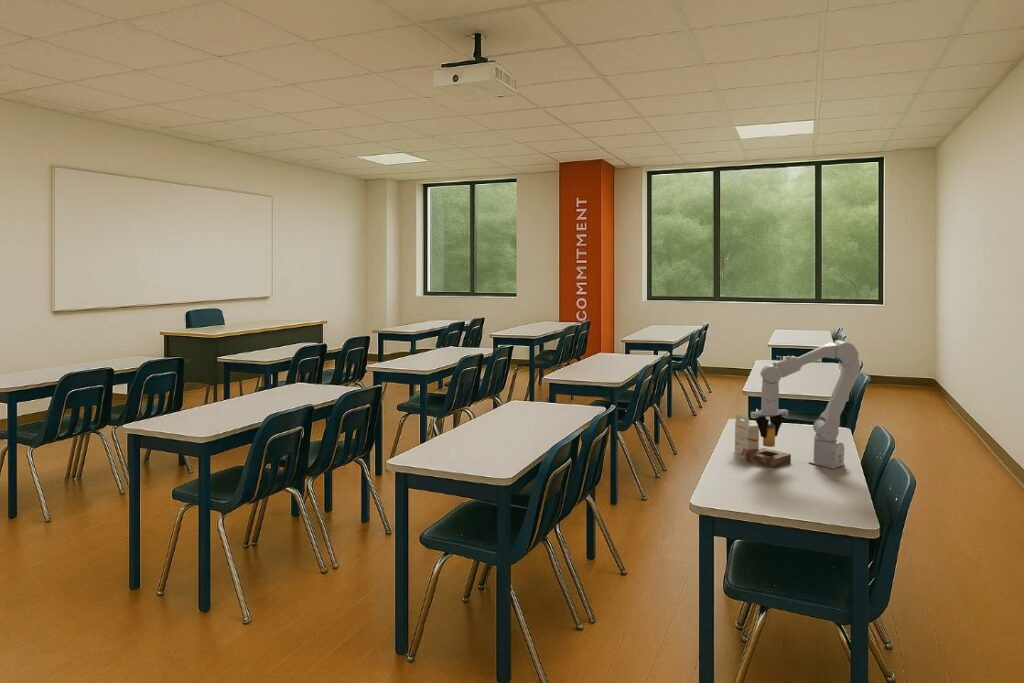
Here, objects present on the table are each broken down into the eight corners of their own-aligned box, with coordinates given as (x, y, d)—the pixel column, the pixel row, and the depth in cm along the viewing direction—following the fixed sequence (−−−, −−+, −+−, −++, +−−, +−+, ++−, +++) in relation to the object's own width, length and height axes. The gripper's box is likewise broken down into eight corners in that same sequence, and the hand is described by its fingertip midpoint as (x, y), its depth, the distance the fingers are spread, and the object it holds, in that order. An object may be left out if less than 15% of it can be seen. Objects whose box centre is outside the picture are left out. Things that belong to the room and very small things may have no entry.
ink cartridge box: (759, 456, 263) (760, 417, 262) (747, 457, 262) (748, 418, 260) (745, 450, 271) (746, 412, 270) (733, 451, 270) (734, 413, 268)
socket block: (790, 462, 255) (790, 454, 255) (773, 468, 248) (773, 459, 248) (763, 455, 264) (763, 447, 263) (745, 461, 257) (745, 453, 257)
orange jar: (777, 445, 255) (777, 423, 254) (770, 447, 252) (771, 425, 251) (767, 443, 258) (767, 421, 257) (760, 445, 256) (760, 423, 255)
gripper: (759, 402, 247) (758, 440, 249) (794, 399, 252) (793, 437, 253) (747, 398, 254) (746, 436, 256) (781, 396, 259) (780, 432, 260)
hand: (768, 436), depth 255 cm, fingers closed on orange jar, 4 cm apart
